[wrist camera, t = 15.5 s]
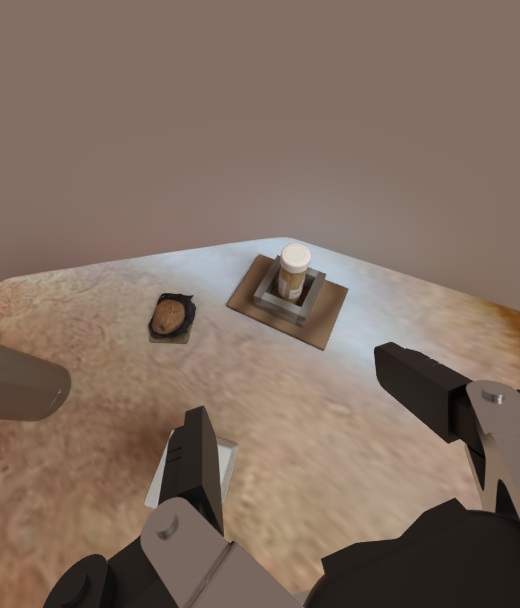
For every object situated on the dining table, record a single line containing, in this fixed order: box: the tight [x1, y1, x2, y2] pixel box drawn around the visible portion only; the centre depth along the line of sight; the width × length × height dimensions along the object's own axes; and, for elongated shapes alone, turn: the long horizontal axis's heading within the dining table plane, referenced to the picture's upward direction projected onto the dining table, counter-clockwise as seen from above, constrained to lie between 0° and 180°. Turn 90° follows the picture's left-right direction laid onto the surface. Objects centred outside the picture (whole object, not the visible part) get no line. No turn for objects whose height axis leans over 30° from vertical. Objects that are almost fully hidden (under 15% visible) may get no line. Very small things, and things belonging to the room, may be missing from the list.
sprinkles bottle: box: [277, 244, 311, 305], centre depth 44 cm, size 5×5×14 cm
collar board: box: [227, 254, 348, 351], centre depth 48 cm, size 20×14×6 cm
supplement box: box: [144, 430, 239, 509], centre depth 32 cm, size 7×7×13 cm
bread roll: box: [149, 293, 196, 344], centre depth 48 cm, size 11×8×4 cm
